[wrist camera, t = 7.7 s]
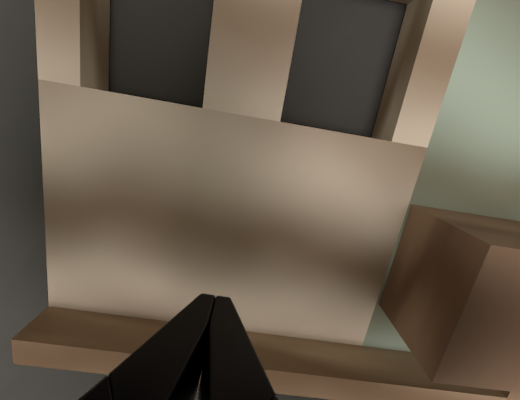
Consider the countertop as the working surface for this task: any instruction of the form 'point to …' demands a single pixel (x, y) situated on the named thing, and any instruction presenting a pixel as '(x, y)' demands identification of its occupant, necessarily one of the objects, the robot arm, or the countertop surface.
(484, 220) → the walnut block
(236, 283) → the trap board
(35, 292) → the countertop surface
